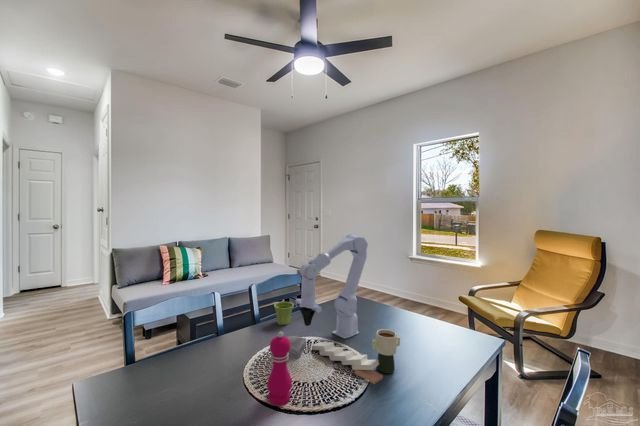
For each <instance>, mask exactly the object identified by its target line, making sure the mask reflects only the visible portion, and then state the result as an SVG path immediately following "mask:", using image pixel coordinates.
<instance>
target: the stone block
mask: <svg viewBox="0 0 640 426" xmlns="http://www.w3.org/2000/svg"><path fill="white" fill-rule="evenodd" d="M286 337H287V338H288V339H289V341H290V345H291V346H290V350H289V351H288V353H289V355H288V356H289V359H290V358H292V359H300V358H301V356H302V353H303V351H304V349H305V347H306V344H307V338H306V337H301V336H295V335H292V336H286Z"/></svg>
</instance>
